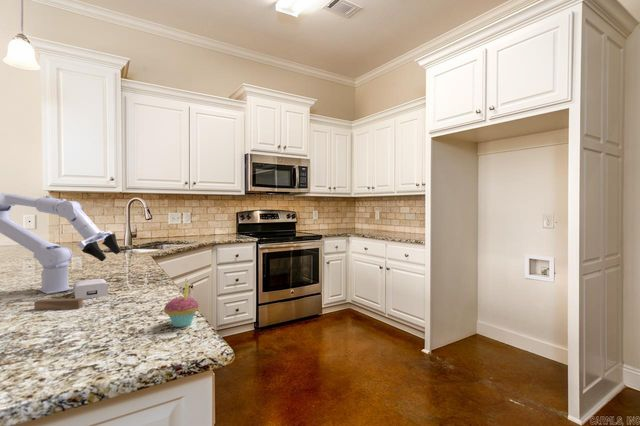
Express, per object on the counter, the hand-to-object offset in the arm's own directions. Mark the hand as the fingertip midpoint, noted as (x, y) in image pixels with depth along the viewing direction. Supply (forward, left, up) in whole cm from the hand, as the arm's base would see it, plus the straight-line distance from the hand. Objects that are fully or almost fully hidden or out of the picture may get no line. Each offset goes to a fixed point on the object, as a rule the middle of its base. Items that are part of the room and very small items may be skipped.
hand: (111, 256), depth 125 cm
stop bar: (+12, -20, -12) cm, 26 cm away
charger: (0, -7, -13) cm, 15 cm away
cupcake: (+54, -5, -13) cm, 56 cm away
